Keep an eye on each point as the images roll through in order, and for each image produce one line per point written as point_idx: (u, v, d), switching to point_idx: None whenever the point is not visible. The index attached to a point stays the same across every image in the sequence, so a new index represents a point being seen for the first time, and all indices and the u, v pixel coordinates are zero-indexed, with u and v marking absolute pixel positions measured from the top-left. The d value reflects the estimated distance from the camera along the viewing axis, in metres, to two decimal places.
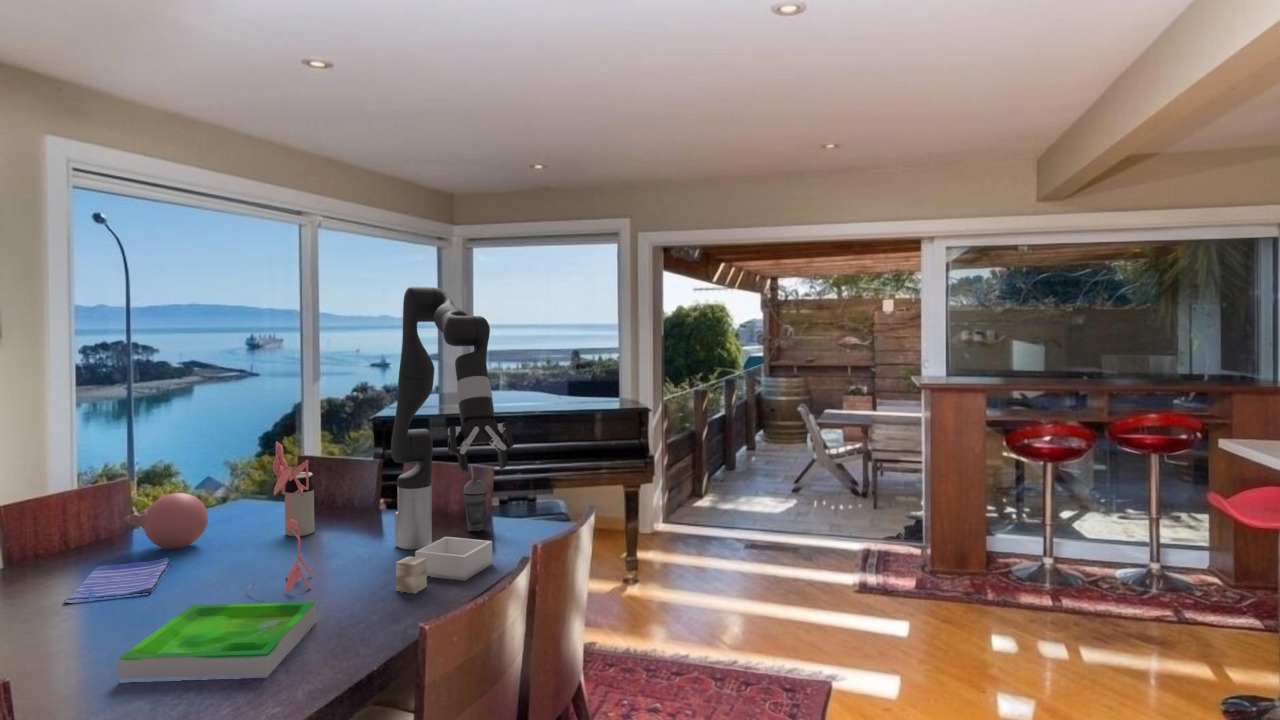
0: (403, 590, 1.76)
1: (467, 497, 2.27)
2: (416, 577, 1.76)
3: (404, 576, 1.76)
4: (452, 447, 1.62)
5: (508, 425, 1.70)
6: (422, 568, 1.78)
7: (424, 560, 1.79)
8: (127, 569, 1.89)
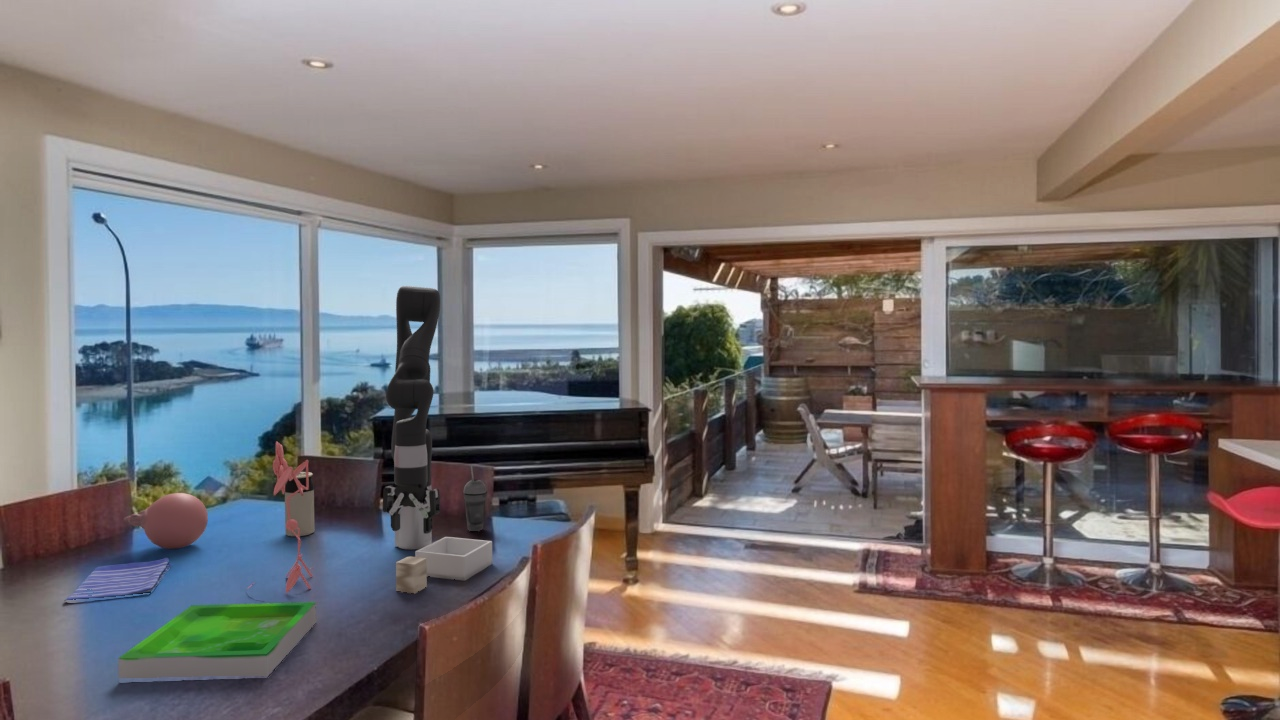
0: (403, 590, 1.76)
1: (467, 497, 2.27)
2: (416, 577, 1.76)
3: (404, 576, 1.76)
4: (383, 507, 1.78)
5: (432, 494, 1.74)
6: (422, 568, 1.78)
7: (424, 560, 1.79)
8: (127, 569, 1.89)
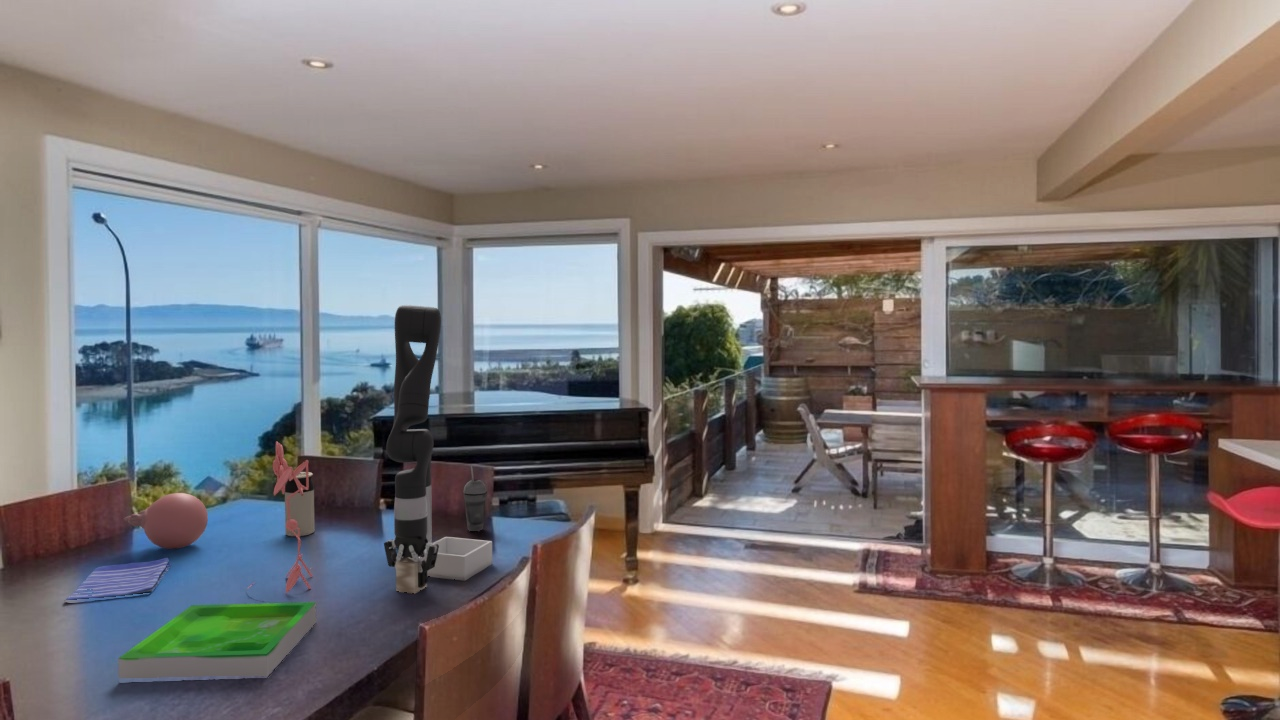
0: (403, 590, 1.76)
1: (467, 497, 2.27)
2: (416, 577, 1.76)
3: (404, 576, 1.76)
4: (388, 562, 1.78)
5: (431, 551, 1.75)
6: None
7: None
8: (127, 569, 1.89)
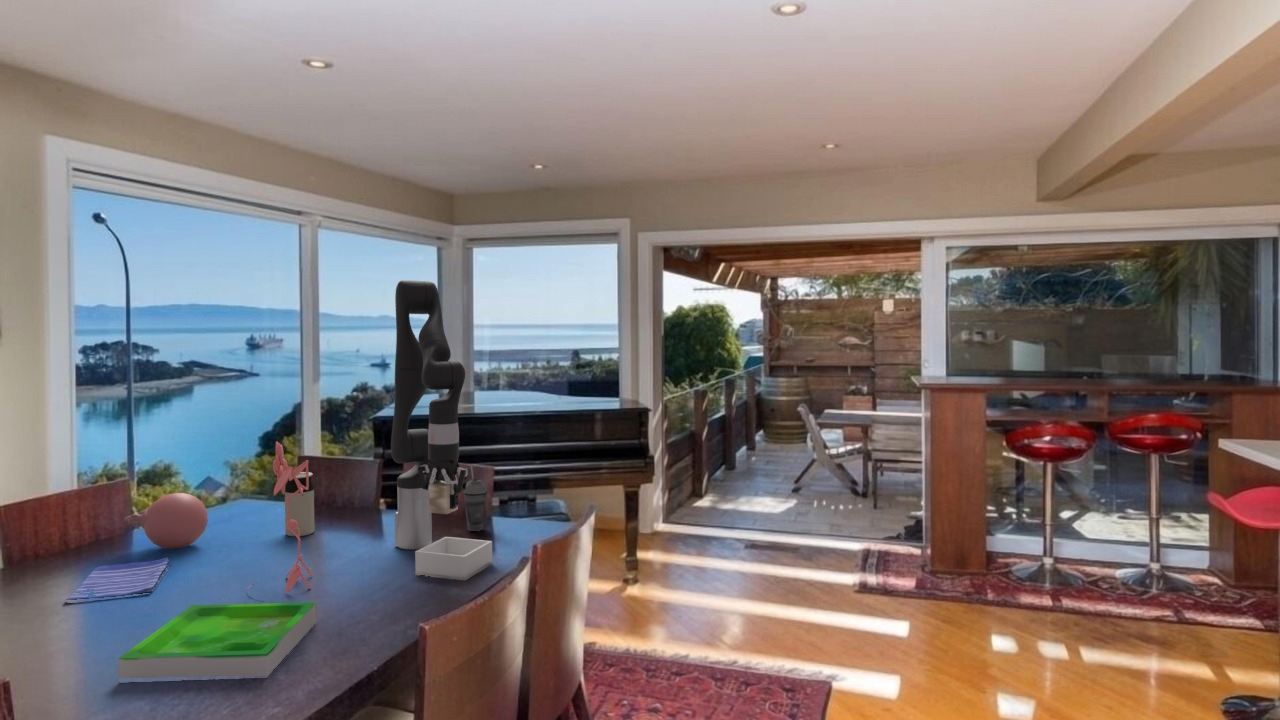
0: (436, 511, 1.87)
1: (467, 497, 2.27)
2: (448, 498, 1.86)
3: (437, 497, 1.87)
4: (422, 485, 1.89)
5: (462, 474, 1.85)
6: None
7: None
8: (127, 569, 1.89)
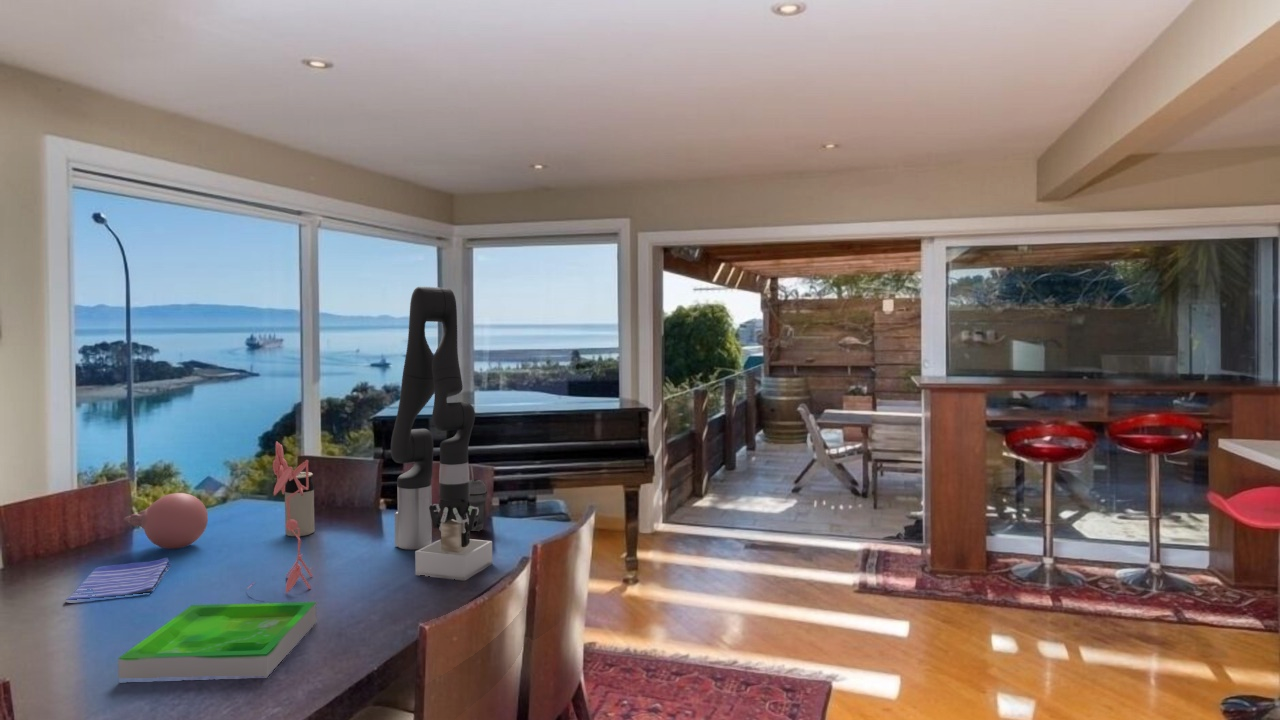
0: (448, 549, 1.90)
1: None
2: (460, 537, 1.90)
3: (449, 536, 1.90)
4: (433, 524, 1.93)
5: (474, 513, 1.89)
6: None
7: None
8: (127, 569, 1.89)
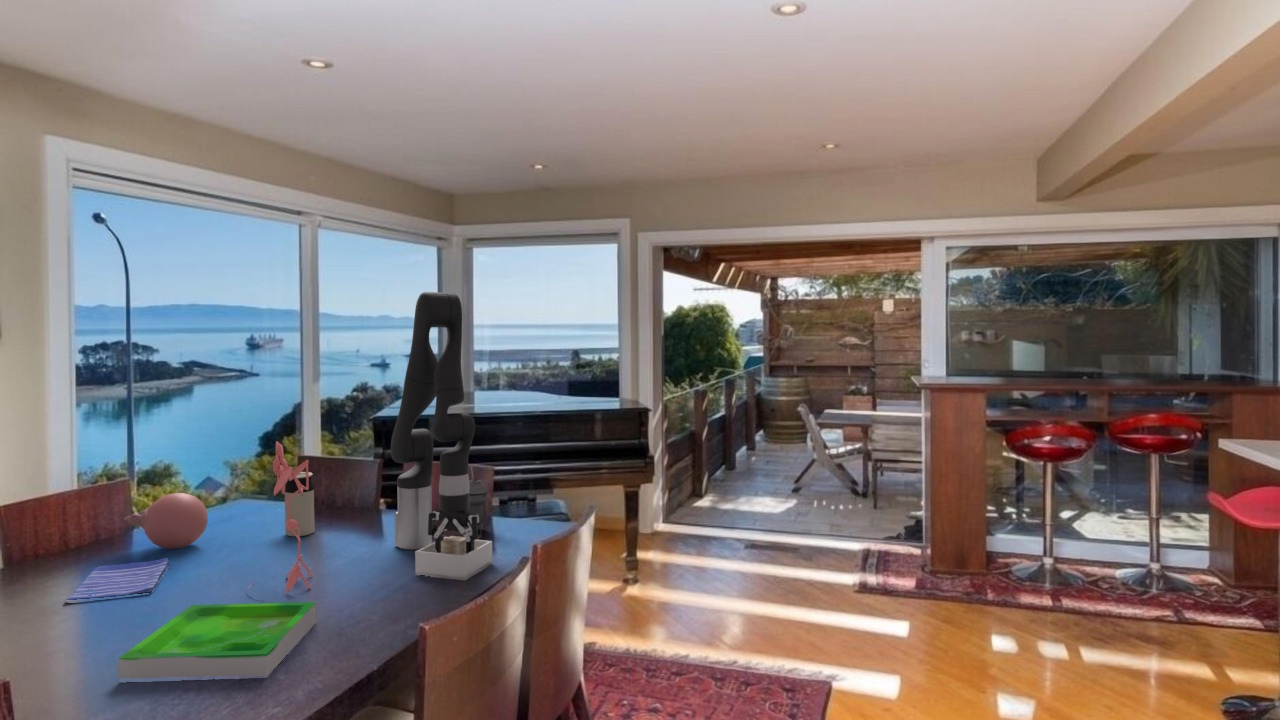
0: None
1: None
2: (459, 554, 1.90)
3: None
4: (428, 531, 1.93)
5: (474, 520, 1.89)
6: (464, 546, 1.93)
7: None
8: (127, 569, 1.89)
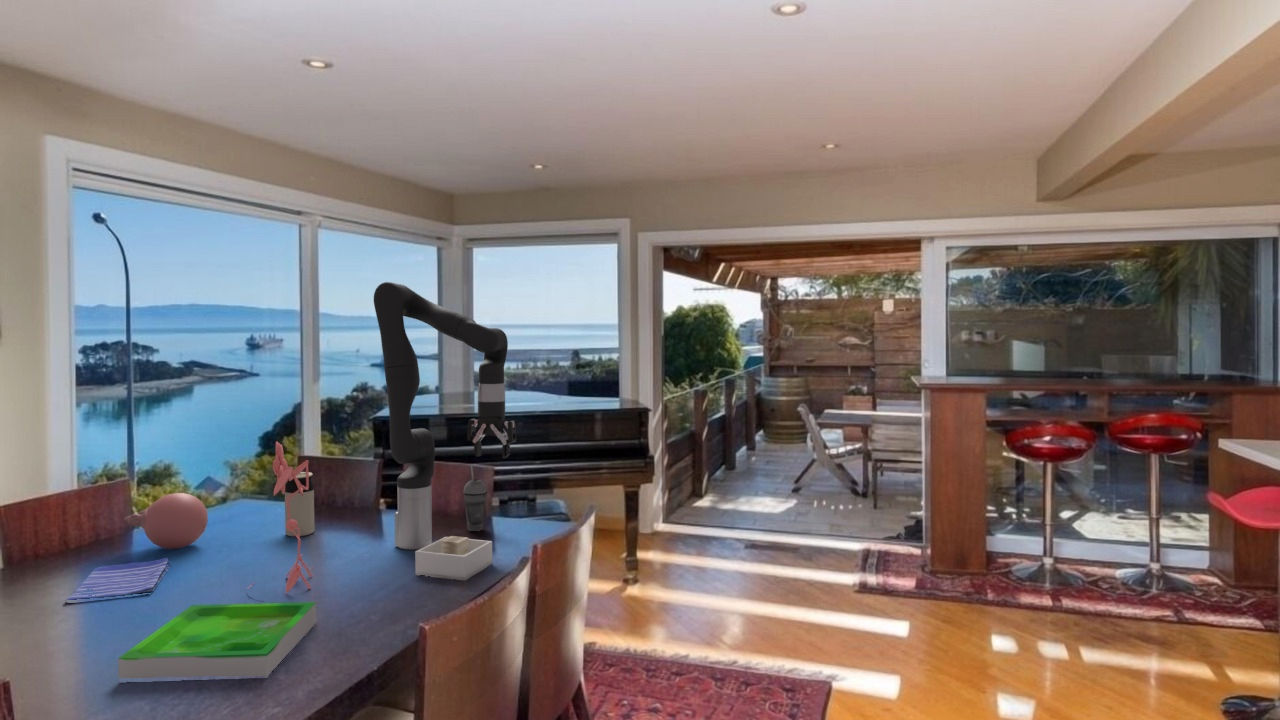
0: None
1: (467, 497, 2.27)
2: (459, 554, 1.90)
3: None
4: (468, 436, 2.11)
5: (510, 425, 2.07)
6: (464, 546, 1.93)
7: (466, 539, 1.93)
8: (126, 569, 1.89)
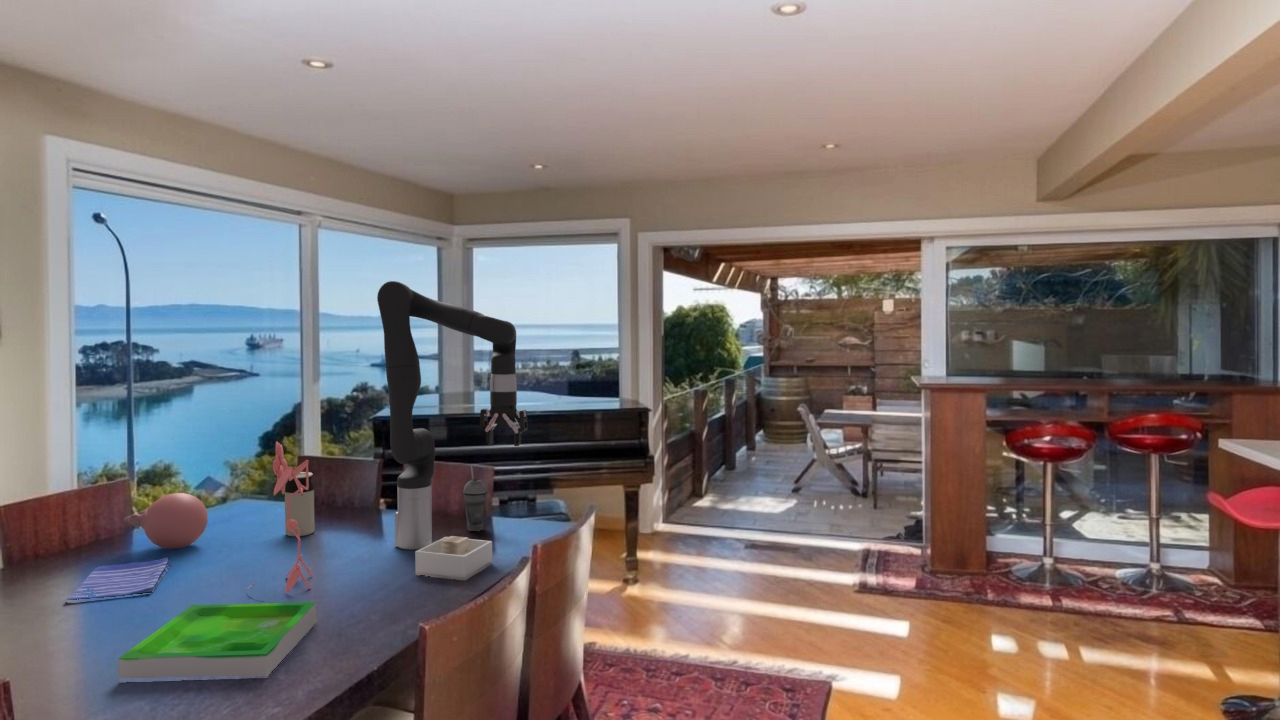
0: None
1: (467, 497, 2.27)
2: (459, 554, 1.90)
3: None
4: (480, 426, 2.18)
5: (522, 414, 2.14)
6: (464, 546, 1.93)
7: (466, 539, 1.93)
8: (126, 569, 1.89)
